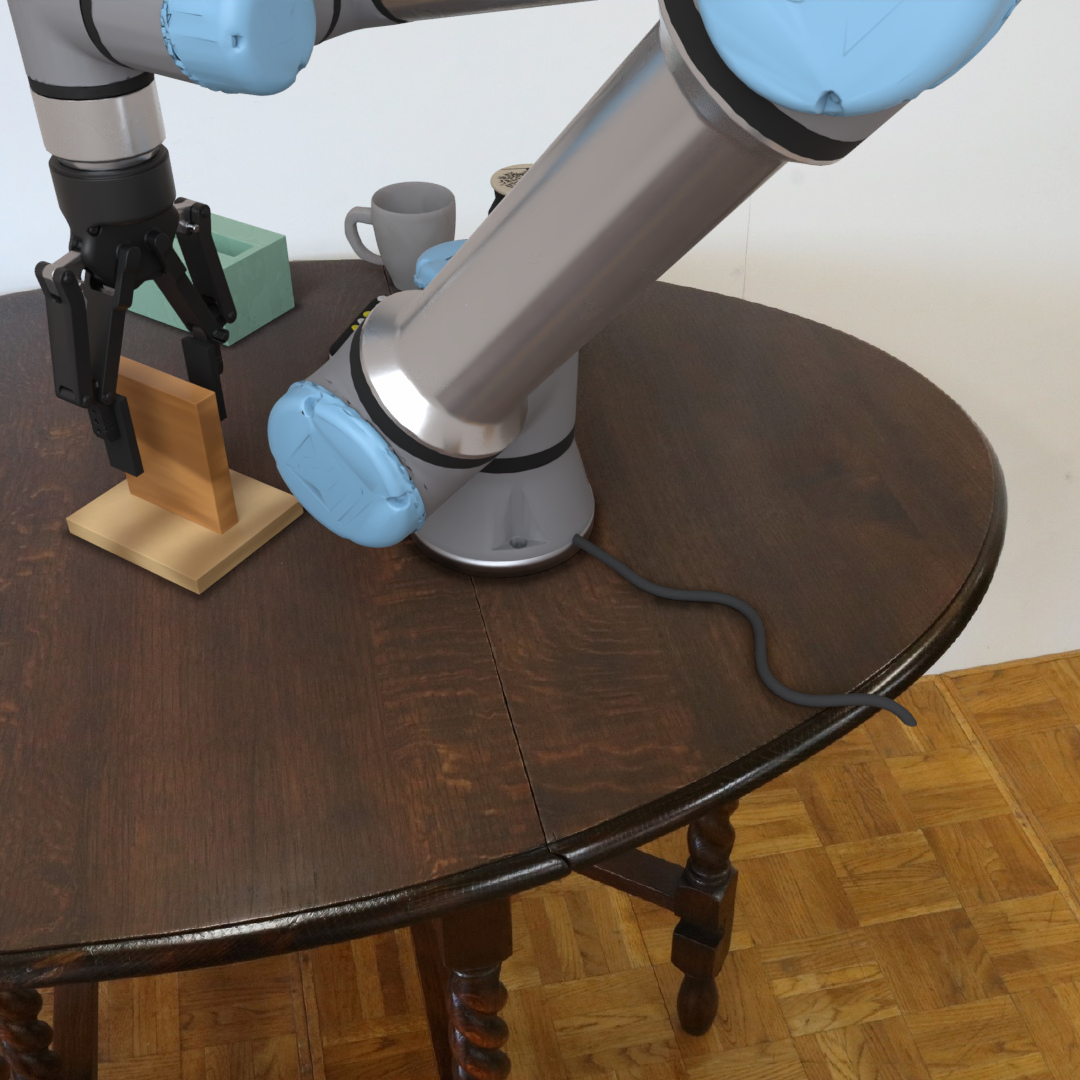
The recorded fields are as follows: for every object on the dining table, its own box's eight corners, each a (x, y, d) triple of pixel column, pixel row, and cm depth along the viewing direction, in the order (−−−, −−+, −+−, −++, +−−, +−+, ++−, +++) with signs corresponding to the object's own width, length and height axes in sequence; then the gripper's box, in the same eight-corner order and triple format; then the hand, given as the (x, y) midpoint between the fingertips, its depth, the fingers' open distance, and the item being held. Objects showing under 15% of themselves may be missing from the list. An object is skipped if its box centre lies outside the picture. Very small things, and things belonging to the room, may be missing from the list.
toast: (148, 481, 98) (118, 353, 90) (239, 522, 94) (215, 391, 86) (129, 493, 96) (97, 365, 89) (221, 535, 92) (195, 404, 85)
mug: (464, 266, 133) (461, 183, 127) (450, 303, 126) (447, 217, 120) (359, 259, 134) (351, 176, 128) (339, 295, 127) (331, 210, 121)
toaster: (186, 270, 131) (173, 201, 126) (294, 306, 125) (285, 235, 120) (117, 306, 124) (100, 234, 119) (228, 346, 118) (216, 272, 113)
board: (303, 513, 97) (301, 498, 96) (199, 595, 89) (196, 580, 88) (178, 460, 103) (175, 445, 102) (69, 533, 95) (65, 518, 94)
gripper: (181, 93, 85) (228, 368, 99) (-71, 189, 71) (26, 494, 85) (261, 113, 82) (298, 394, 96) (14, 218, 68) (100, 528, 82)
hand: (170, 440), depth 91 cm, fingers open, 8 cm apart
